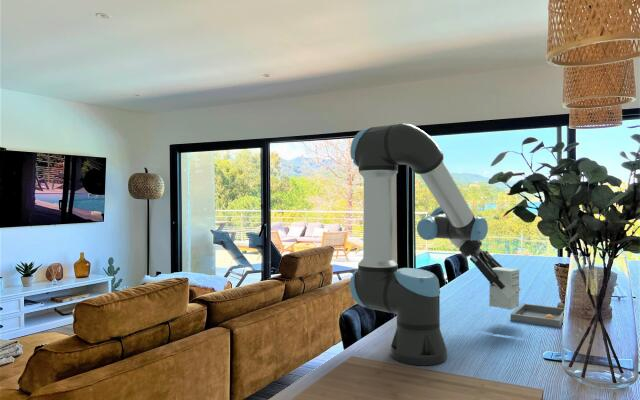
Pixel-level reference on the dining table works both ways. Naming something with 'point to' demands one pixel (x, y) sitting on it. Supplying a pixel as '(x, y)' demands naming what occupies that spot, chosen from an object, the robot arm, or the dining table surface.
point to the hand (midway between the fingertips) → (515, 293)
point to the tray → (538, 315)
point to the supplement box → (496, 294)
